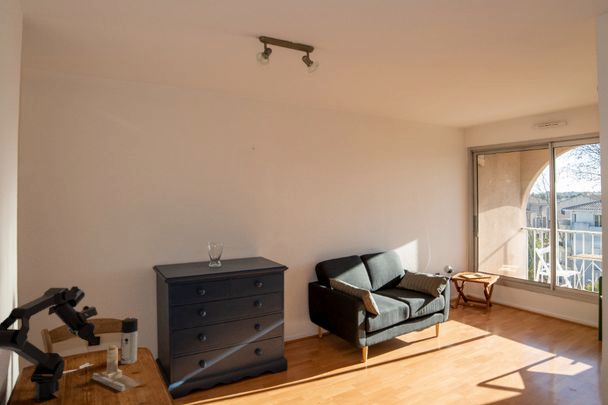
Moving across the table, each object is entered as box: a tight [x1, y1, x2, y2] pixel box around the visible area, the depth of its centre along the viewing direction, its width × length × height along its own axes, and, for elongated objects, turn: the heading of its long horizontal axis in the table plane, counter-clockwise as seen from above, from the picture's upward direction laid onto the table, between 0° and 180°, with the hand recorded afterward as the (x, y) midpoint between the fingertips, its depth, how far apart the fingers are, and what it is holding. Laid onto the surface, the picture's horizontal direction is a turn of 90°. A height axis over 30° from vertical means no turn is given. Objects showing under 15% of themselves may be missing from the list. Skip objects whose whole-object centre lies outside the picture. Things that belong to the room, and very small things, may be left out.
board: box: [92, 372, 143, 393], centre depth 154 cm, size 9×20×4 cm, turn 57°
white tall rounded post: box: [101, 344, 123, 380], centre depth 157 cm, size 6×5×13 cm
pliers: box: [63, 362, 94, 375], centre depth 165 cm, size 10×2×15 cm
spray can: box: [120, 317, 139, 365], centre depth 175 cm, size 7×7×20 cm
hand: (94, 341), depth 159 cm, fingers open, 9 cm apart
